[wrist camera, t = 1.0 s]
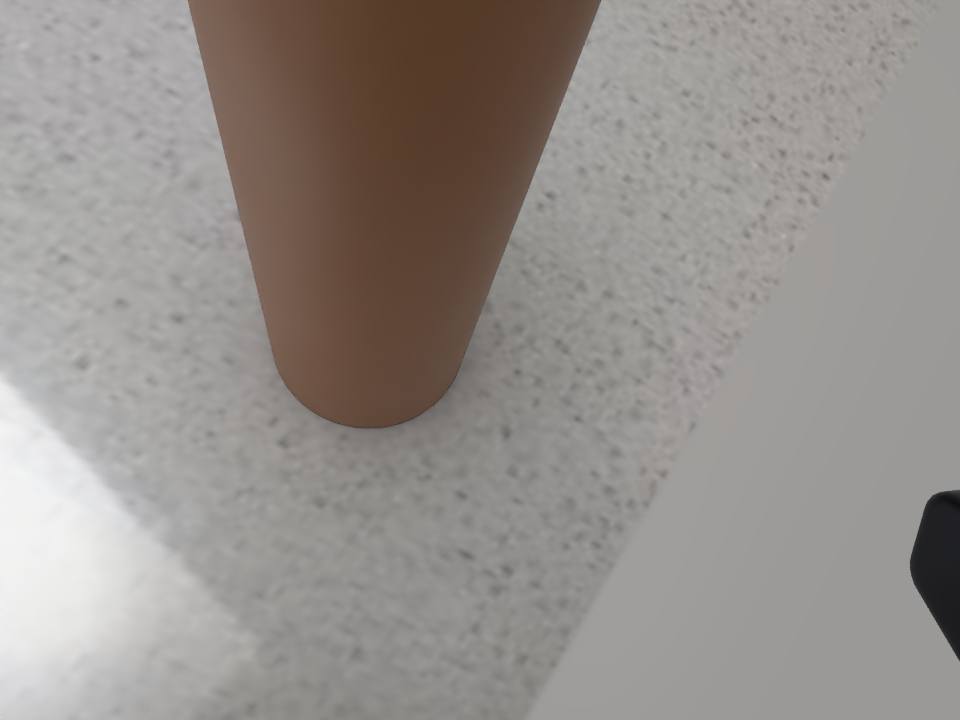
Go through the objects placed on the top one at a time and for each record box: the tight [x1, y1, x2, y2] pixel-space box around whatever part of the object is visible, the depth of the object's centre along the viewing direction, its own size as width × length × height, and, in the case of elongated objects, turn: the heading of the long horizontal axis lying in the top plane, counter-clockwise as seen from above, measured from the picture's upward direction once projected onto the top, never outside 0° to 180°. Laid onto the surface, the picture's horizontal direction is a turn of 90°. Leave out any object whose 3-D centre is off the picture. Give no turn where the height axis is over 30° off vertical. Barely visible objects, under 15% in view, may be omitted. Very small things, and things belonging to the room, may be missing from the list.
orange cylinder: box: [188, 0, 601, 428], centre depth 13 cm, size 5×5×20 cm
